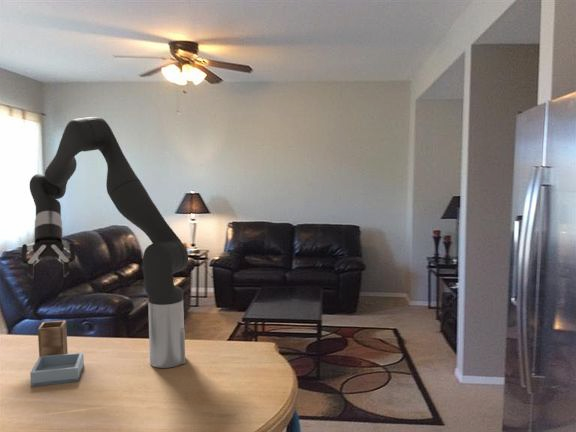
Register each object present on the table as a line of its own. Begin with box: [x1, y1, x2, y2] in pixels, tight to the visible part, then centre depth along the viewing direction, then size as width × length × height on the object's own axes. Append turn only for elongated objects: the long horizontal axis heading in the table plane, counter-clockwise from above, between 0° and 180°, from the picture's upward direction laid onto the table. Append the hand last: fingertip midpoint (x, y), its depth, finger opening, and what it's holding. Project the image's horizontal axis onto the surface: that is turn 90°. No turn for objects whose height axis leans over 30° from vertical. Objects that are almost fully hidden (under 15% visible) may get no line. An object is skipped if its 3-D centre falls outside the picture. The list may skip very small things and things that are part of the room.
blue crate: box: [29, 351, 85, 388], centre depth 125 cm, size 11×11×4 cm
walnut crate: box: [37, 319, 69, 358], centre depth 135 cm, size 6×6×10 cm
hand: (48, 276), depth 141 cm, fingers open, 8 cm apart
